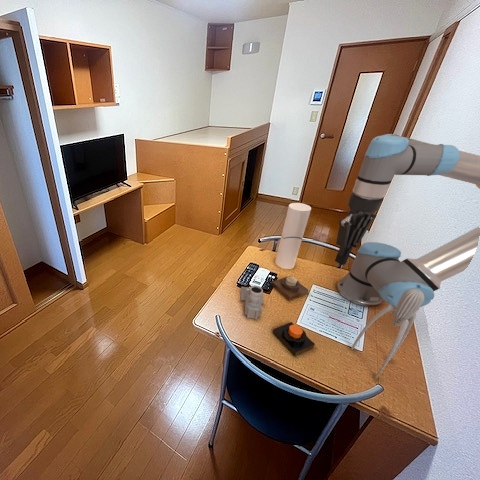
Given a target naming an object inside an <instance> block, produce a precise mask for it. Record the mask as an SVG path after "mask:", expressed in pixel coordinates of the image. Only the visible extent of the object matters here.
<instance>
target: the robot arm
mask: <svg viewBox="0 0 480 480" xmlns="http://www.w3.org/2000/svg"><path fill="white" fill-rule="evenodd" d="M395 176H427V177H431V176H441V177H444V178H450V179H452V180H458V181H461V182H465V183H469V184H473V185H475V186H476V187H477V188H478V189H479V190H480V155H479V154H475V153H472V152H466V151H463V150H459V149H458V147H456V146H455V145H453V144H444V143H439V144H434V143H430V142H426V141H423V140H417V139H413V138H410V137H406V136H401V135H399V134H396V133H395V134H394V133H386V134H382V135H377V136H375V137H374V138H372V140H371V141H370V143H369V145H368V147H367V149H366V152H365V154H364V158H363V160H362V163H361V166H360V169H359V172H358V175H357V178H356V180H355V182H354V186H353V188H352V192H351V193H350V196H349V198H348V201H347V206H348V208H349V211H348V212H347V214H346V217H345V218H344V219H342V218H340V219H339V220H338V230H337V231H338V232H337V236H336V242H335V244H336V245H337V246H338V247H339V249H338V251H337V254H336V256H335V259H334V262H336V263H337V264H339V265H341V266H345V265H346V264H347V262H348V259H349V257H350V254H351V252H352V250H353V248H355V249H356V248H358V245H359V244H360V243H361V241H362V239H363V237H364V236H365V235H366V233H367V231H368V230H369V228H370V226H371V225H372V223H373V222H374V220H375V219H376V218H377V214H374V213H376V212H378V211H379V210H380V208H381V206H382V203H383V201H384V198H385V197H386V195H387V193H388V190H389V188H390V185H391V183H392V181H393V179H394V177H395ZM479 236H480V228H479V226H476V227H475V228H472V229H471V230H469V231H467V232H466V233H464V234H462V235H460V236H458V237H456V238H454V239H452V240H451V241H448V242H446V243H445V244H443V245H440V246H439V247H437V248H435V249H433V250H431V251H429V252H427V253H426V254H424V255H422V256H420V257H418V258H410V257H407V258H405V259H404V260H399V258H401V257H402V252H401V250H400V249H399V248H397V247H395V246H393V245H391V244H387V243H383V242H377V241H368V242H364V243H362V244H361V245H360V247H359V249H357V252H356V255H355V257H354V259H353V262H352V264H351V266H350V268H349V271H348V273H346V275H345V276H343V277H342V278H341V279H340V280H339V281H338V282H337V285H336V290H337V292H338V293H339V295H341V296H342V297H343V298H344V299H345V300H347V301H349V302H351V303H352V304H355V305H358V306H361V307H366V308H374V307H378V306H380V305H382V303H383V301H385V302H386V303H387V304H388V306H389V305H391V306H392V307H393V308H395V309H396V306H397V304H398V301H399V299H400V298H401V296H402V295H403V293H404V292H405V291H407V290H409V289H418V290H420V291H421V292H422V293H423V294H424V297H425V298H424V301H423V303H422V305H421V307H420V308H422V307H425V306H427V305H429V304H430V303H431V302H432V301H431V300H434V298H435V292H436V291H437V290H440V288H441V284H442V282H443V281H445V280H448V279H450V278H452V277H454V276H456V275H459V274H461V273H462V272H465V271H466V270H465V269H466V268H467V267H468V265H469V264H470V262H471V260H472V258H473V256H474V254H475V252H476V249H477V246H478V241H479ZM357 244H358V245H357ZM464 270H465V271H464Z"/></svg>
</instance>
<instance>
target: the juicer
mask: <svg viewBox="0 0 480 480" xmlns="http://www.w3.org/2000/svg"><path fill="white" fill-rule="evenodd" d="M424 298H425V297H424V294H423V293H422V292H421V291H420V290H418V289H409V290H407V291H405V292H404V293H403V295H402V296H401V298H400V299H399V301H398V304H397V306H396V308H395V309H394V307H392V306H391V305H389V304H388V305H386V307H384V308H383V309H382V310H380V311H379V312H378V313H376V314H375V315H374V316H373V317H372V318H371V319H370V320H369V321H368V322H367V323H366V324H365V326H364V327H363V328H362V329H361V331H360V333H359V334H358V335H357V337H356V339H355V340H354V342H353V344H352V346H351V347H350V349H351V350H354V349H355V348H356V345H357V344H358V342H359V341H361V338H362V337H363V335H364V334H365V333H366V332H367V330H368V329H369V328H370V327H371V326H372V325H373V323H374V322H376V321H377V320H378V319H379V318H380V317H382V316H383V315H385V314H387V313H391V314H392V315H393V328H396V327H399V328H398V332H397V335H396V338H395V339H394V342H393V344H392V346H391V348H390V350H389V352H388V355H387V356H386V358H385V360H384V362H383V363H382V365H381V367H380V369H379V370H378V372H377V374H376V375H375V377H374V379H375V380H377V378H378V377H379V376H380V375H381V374H382V371H383V370H384V369H385V367H386V366H387V364H388V363H389V362H391V360H392V359H393V358H394V356H395V355H396V354H397V352H398V351H399V349H400V348H401V346H402V344H403V343H404V341H405V339H406V338H407V336H408V334H409V333H410V331H411V329H412V326H413V325H414V321H415V318H416V316H417V315H416V314H417V312H418V311H419V309H420V308H422V307H421V305H422V303H423V301H424Z"/></svg>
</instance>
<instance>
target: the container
mask: <svg viewBox="0 0 480 480" xmlns="http://www.w3.org/2000/svg"><path fill="white" fill-rule="evenodd" d="M311 211H312V207H311V206H310V205H309V204H306V203H303V202H291V203H290V204H288V207H287V211H286V216H285V220H284V225H283V227H282V231H281V236H280V240H279V244H278V248H277V253H276V256H275V260H274V263H275V265H276V266H277V267H279V268H281V269H284V270H292V269H294V268H295V265H296V261H297V259H298V255H299V252H300V248H301V245H302V241H303V238H304V236H305V235H304V234H305V232H306V228H307V225H308V222H309V217H310V215H311Z"/></svg>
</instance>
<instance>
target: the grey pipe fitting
mask: <svg viewBox="0 0 480 480" xmlns="http://www.w3.org/2000/svg"><path fill="white" fill-rule="evenodd" d="M239 300H240V302H244V315H245V316H246V318H247V319H254V320H258V318H259V317H260V315H262V310H263V309H262V305H264V290H263V288H262V287H261V286H258V285H256V284H255V285H251V286H250V287H247V286H241V287H240V299H239Z"/></svg>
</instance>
